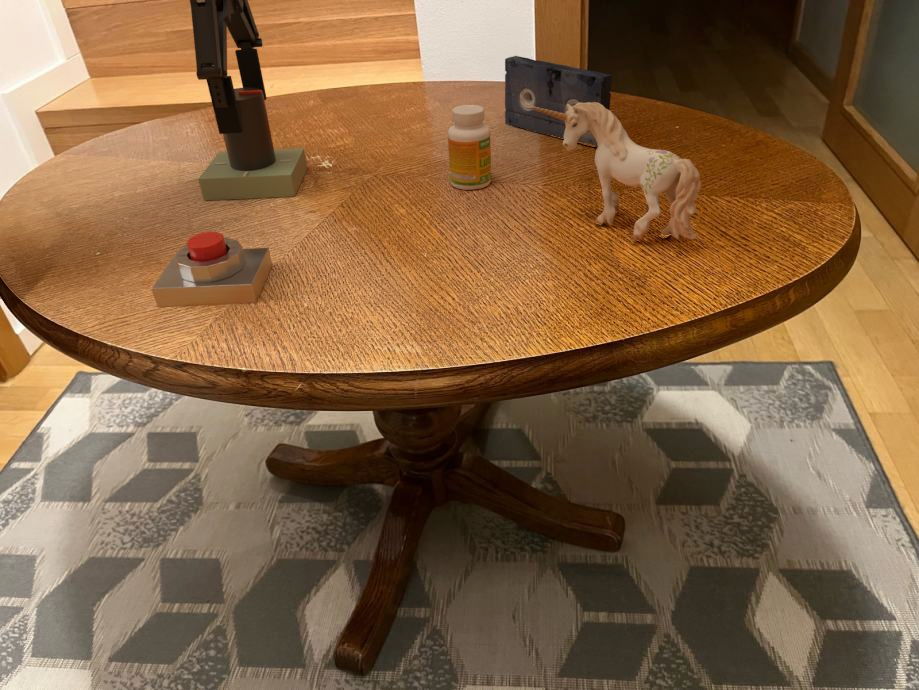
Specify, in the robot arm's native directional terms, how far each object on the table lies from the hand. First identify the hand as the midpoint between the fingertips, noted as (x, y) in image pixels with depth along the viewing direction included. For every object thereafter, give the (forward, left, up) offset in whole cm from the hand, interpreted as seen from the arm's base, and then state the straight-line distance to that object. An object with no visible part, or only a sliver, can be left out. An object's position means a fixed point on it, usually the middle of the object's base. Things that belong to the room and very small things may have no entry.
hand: (244, 115), depth 94 cm
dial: (0, 0, -6) cm, 6 cm away
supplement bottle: (+29, -3, -10) cm, 31 cm away
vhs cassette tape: (+42, +15, -10) cm, 45 cm away
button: (+2, -28, -6) cm, 29 cm away
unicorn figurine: (+44, -20, -10) cm, 49 cm away
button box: (+2, -28, -9) cm, 30 cm away
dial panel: (0, 0, -9) cm, 9 cm away
